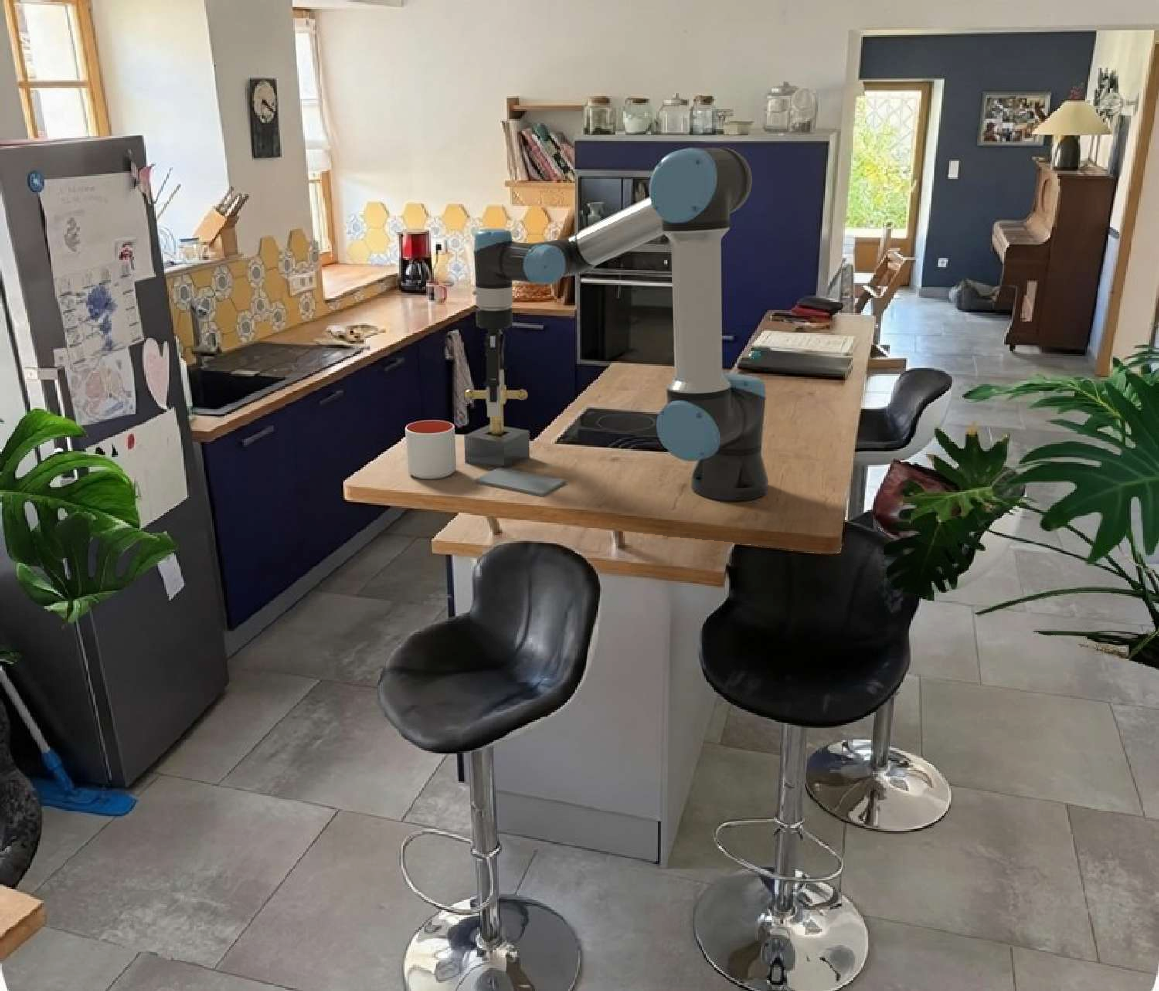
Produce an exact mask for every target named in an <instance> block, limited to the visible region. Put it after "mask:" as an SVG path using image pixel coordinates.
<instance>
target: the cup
mask: <svg viewBox="0 0 1159 991" xmlns="http://www.w3.org/2000/svg"><path fill="white" fill-rule="evenodd" d="M455 428H456V427H455V425H454V424H453V423H451V422H449V421H445V420H437V419H434V420H433V419H432V420H431V419H429V420H420V421H414V422H411V423H408V424H407V425H406V426H405V428H404V431H405V451H406V465H407V471H408V473H409V474H410V475H412V476H413V477H414V478H418V479H423V480H437V479H442V478H446V477H449V476H450V475H452V474H454V472H455V471H456V469H457V458H456V457H457V452H456V432H455V431H456V430H455Z"/></svg>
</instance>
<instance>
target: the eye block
mask: <svg viewBox="0 0 1159 991" xmlns="http://www.w3.org/2000/svg"><path fill="white" fill-rule="evenodd" d="M503 431H504V435H503V436H501V437H497V436H492V435H490V424H488V425H485V426H484V427H480V428H478V429H476V430H474V431H471V432H469V433H466V434H465V435H464V436H463V438H464V439H463V440H464V441H463V442H464V444H463V445H464V463H466V464H471V465H476V466H477V465H478V466H481V467H485V468H492V469H497V468H499V467H500V468H505V469H510V468H511V467H513V466H516V465H517V464H520V463H521V462H523V461H525V460H527V459H528V458H530V430H527V429H521V428H516V427H509V426H504V425H503Z"/></svg>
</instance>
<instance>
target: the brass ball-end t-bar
mask: <svg viewBox="0 0 1159 991" xmlns="http://www.w3.org/2000/svg"><path fill="white" fill-rule="evenodd" d="M464 397H465V398H466V399H467V400H468V401H469V400H473V399H474V400H475V399H476V400H477V399H478V400H479V399H481V400H484V399H485V404H486V405H487V386H485V389H484V390H480V389H478V390H474V389H472V388H471V389H470V388H469V389H467V390H465V392H464ZM527 398H528V392H527V390H525V389H521V388H520V389H519V390H509V389H507V385H506V384H504V385H500V404H501V417H489V420H490V421H489V425H490V435H492V436H497V437H501V436H503V435H504V431H503V426H504V405H505V404H507V403H506V402H507V399H509V400H511V399H512V400H514V399H516V400H517V399H518V400H521V401H522V400H523V401H524V400H526V399H527Z"/></svg>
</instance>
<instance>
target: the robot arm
mask: <svg viewBox="0 0 1159 991" xmlns="http://www.w3.org/2000/svg"><path fill="white" fill-rule="evenodd" d="M752 177H753V176H752V171H751V168H750V165H749V163H748V162H747V160H746V158H744V156H742V155H741V154H740V153H738V152H737V151H735V150H734V149H731V148H728V147H723V146H722V147H719V146H718V147H689V148H688V147H687V148H683V149H679V150H676V151H672V152H670V153H669V154H667V155H665V156H664V157H663V158H662V159H661V160H660V161H659V162H658V164H656V166H655V168H654V170H653V171H652V174H651V177H650V179H649V180H650V181H649V185H648V186H649V187H648V194H649V196H648V197H646V198H644V199H642V200H640V201H638V202H636V203H633V204H632V205H630V206H628V207H627V208H624V209H622V210H620V211H618V212H616V213H614V214H611V215H610V216H607V217H606V218H604V219H602V220H599V221H598V222H595V223H594V224H591V225H590V226H587V227H585V228H583V229H581V230H580V231H577V232H575V233H574V234H571V235H570V236H567V237H565V238H561V239H560V238H559V239H553V240H548V241H547V240H546V241H539V242H534V243H533V242H520V241H519V242H517V241H513V238H512V232H511V230H509V229H504V228H483V229H479V230H477V231H476V232H475V234H474V240H473V242H474V244H473V258H474V274H475V275H474V276H475V278H474V279H475V283H474V284H475V290H473V291H472V295H473V296H476V297H475V306H477V308H476V309H475V324H476V327H478V328H480V329H487V332H488V333H485V336H484V345H485V352H484V353H485V357H486V376H485V377H486V380H485V382H482V383H483V384H482V385H483V387H487V404H486V408H487V409H486V412H487V413H486V414H487V415H486V416H487V418H490V417H501V404H500V385H505V372H504V371H505V370H504V369H507V368H508V364H507V363H505V358H504V350H505V338H506V337H505V333H503V329H509V328H511V327H512V326H513V325H514V322H513V321H514V320H513V319H514V317H513V316H514V315H513V308H512V306H513V305H514V304H513V302H514V300H513V296H514V295H513V293H514V292H513V281H515V282H523V283H530V284H536V285H539V286H542V285H550V286H551V285H556V284H558V282H559V280H561V279H562V278H564V277H570V276H571V277H572V276H579V275H583V274H585V273H587V272H590V271H592V270H594V269H595V267H596V266H597V265H599V264H603V262H605V261H606V262H607V261H608V260H610V259H612V258H615V257H617V256H619V255H622V254H623V253H626V252H628V251H629V250H632V249H634V248H636V247H639V246H641V245H643V244H645V243H648V242H651V241H652V240H654V239H656V238H659V237H662V236H664V235H665V236H666V238H668V240H670V244H671V271H672V272H671V274H672V275H671V278H672V279H671V280H672V282H671V283H672V286H671V287H672V318H673V320H672V321H673V353H674V354H673V358H674V376H673V378H672V379H671V380H670V381H669V382H668V383H667V385H666V404H665V405H664V406H663V407H662V409H661V410H660V411H659V412H658V416H657V418H656V432H657V436H658V439H659V440H660V443H661V444H662V446H663V447H664V448H665V449H667V451H668V452H669V453H670V454H671V455H672V456H673V457H675V458H677V459H679V460H682V461H684V462H696V464H695V466H694V468H693V471H692V474H691V478H690V479H691V484H690V485H691V486H690V487H691V490H692V491H693V492H694V493H696V494H698V495H700V496H702V497H706V498H709V499H713V500H717V501H726V502H728V501H729V502H741V501H740V500H745V501H751V499H752V500H755V498H756V499H758V498H757V497H759V498H761V496H762V497H764V496H765V495H766V494H767V493H768V488H769V479H768V475H767V471H766V467H765V463H764V460H763V459H764V458H763V455H762V444H763V432H764V420H765V419H764V418H765V410H766V409H765V407H766V400H767V396H766V384H765V381H763V380H762V379H761V378H758V377H757V376H753V375H752V376H751V375H746V374H739V373H728V372H727V373H726V372H723V336H722V335H723V332H722V329H723V326H722V323H723V321H722V320H723V319H722V312H723V311H722V244H721V243H722V238H723V237H724V236H725V235H726V233H728V231H729V230H730V214H731V213H734V212H735V211H736V210H739V208H741V207H742V205H744V203H745V202H746V201H747V199H748V198H749V196H750V193H751V189H752V184H753V178H752ZM766 492H767V493H766ZM765 493H766V494H765ZM764 494H765V495H764Z"/></svg>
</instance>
